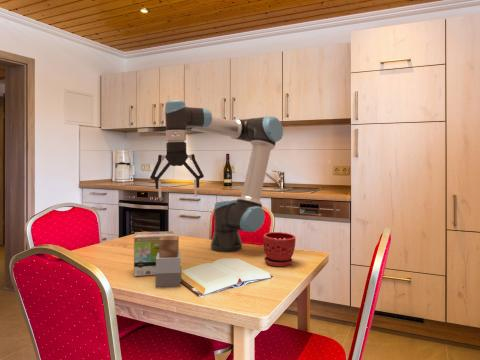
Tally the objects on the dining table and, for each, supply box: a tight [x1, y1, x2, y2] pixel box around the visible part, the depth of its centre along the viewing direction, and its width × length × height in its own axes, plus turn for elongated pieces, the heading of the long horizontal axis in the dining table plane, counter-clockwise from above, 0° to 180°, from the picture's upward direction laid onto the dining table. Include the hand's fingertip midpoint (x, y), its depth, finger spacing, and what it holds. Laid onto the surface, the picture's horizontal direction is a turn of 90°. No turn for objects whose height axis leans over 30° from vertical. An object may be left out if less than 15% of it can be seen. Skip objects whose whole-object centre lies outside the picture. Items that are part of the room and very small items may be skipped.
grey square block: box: [156, 251, 182, 274], centre depth 126 cm, size 8×8×5 cm
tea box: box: [133, 230, 176, 277], centre depth 139 cm, size 15×10×15 cm, turn 106°
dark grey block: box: [154, 267, 182, 289], centre depth 127 cm, size 8×8×5 cm
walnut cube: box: [159, 235, 180, 258], centre depth 126 cm, size 6×6×6 cm
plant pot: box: [263, 231, 296, 267], centre depth 151 cm, size 13×13×12 cm
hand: (178, 197), depth 142 cm, fingers open, 13 cm apart
